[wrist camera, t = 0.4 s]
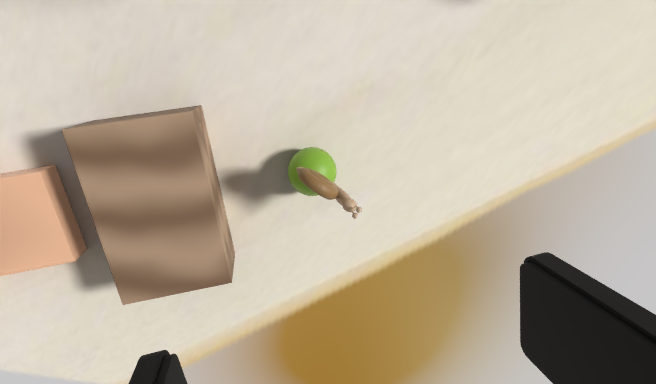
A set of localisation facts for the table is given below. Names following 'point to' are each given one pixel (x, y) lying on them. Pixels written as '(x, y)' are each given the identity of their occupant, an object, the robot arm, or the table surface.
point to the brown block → (155, 201)
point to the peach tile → (36, 221)
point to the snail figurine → (318, 177)
